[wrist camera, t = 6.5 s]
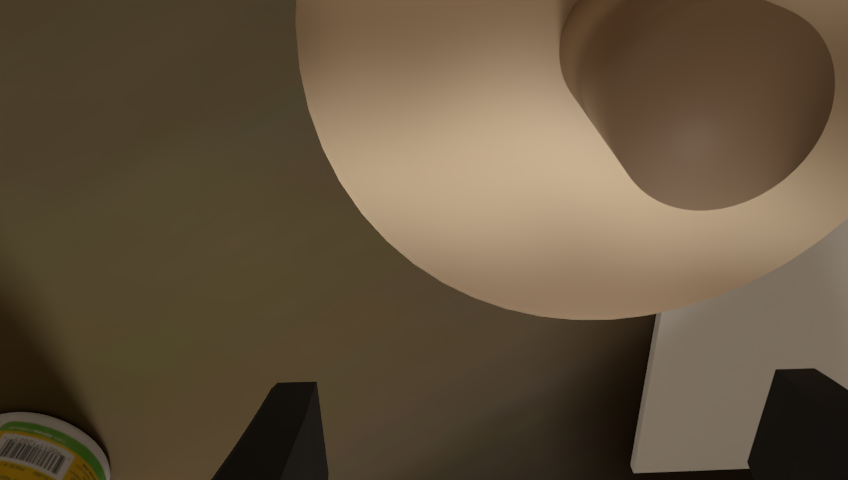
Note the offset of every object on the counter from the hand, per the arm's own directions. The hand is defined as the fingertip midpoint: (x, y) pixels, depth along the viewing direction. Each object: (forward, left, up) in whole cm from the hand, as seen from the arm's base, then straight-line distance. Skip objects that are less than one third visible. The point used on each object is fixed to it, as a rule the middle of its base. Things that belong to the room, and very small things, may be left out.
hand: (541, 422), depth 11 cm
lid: (+5, -2, -6) cm, 8 cm away
